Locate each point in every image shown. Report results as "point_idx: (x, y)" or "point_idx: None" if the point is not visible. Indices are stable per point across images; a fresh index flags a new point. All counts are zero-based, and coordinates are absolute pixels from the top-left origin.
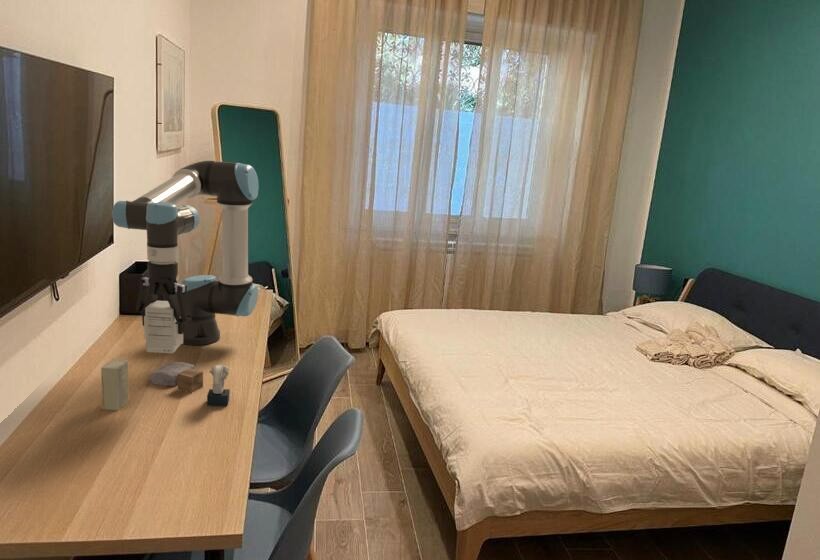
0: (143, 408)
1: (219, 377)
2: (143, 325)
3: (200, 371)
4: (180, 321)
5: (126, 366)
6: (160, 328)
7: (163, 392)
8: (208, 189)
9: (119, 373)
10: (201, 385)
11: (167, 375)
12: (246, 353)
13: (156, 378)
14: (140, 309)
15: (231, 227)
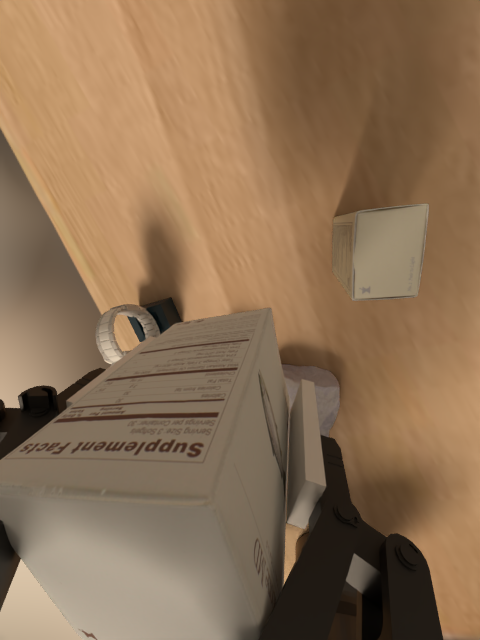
0: (282, 249)
1: (102, 317)
2: (332, 440)
3: None
4: (28, 409)
5: (348, 284)
6: (168, 367)
7: (281, 333)
8: None
9: (349, 231)
10: None
11: (289, 378)
12: None
13: (318, 376)
14: (380, 562)
15: None
